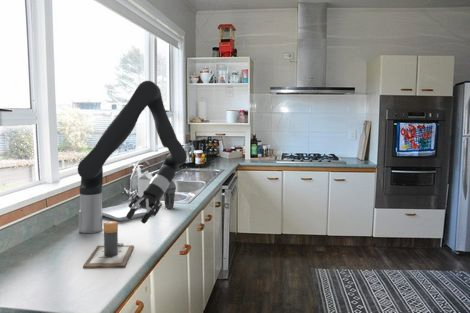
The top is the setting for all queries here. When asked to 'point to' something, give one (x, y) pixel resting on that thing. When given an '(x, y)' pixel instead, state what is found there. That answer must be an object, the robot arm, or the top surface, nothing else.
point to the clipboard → (109, 258)
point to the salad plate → (121, 212)
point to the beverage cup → (170, 195)
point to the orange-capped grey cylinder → (110, 238)
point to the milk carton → (143, 182)
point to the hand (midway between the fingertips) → (135, 220)
